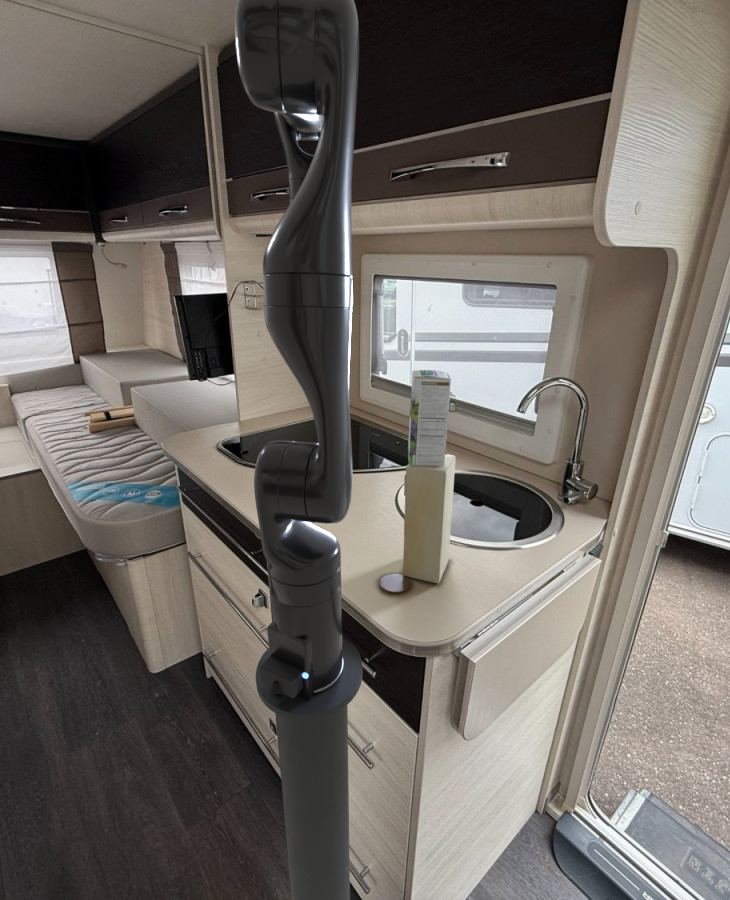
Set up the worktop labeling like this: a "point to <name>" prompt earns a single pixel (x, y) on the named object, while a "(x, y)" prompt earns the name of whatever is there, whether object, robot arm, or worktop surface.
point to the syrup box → (428, 417)
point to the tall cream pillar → (428, 519)
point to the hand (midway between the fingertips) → (315, 332)
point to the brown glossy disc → (394, 583)
